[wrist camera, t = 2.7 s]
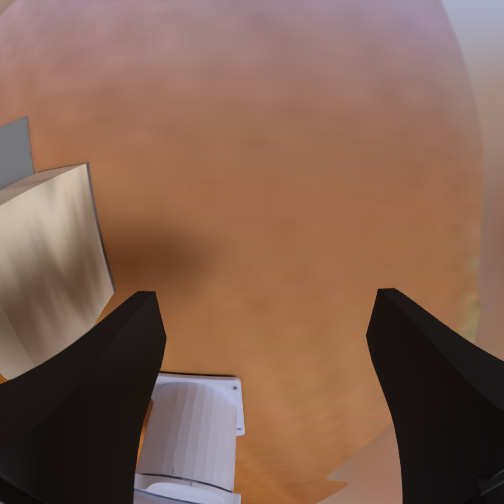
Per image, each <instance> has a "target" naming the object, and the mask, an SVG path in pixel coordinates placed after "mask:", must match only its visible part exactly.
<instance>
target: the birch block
mask: <svg viewBox="0 0 504 504" xmlns="http://www.w3.org/2000/svg"><path fill="white" fill-rule="evenodd" d="M115 291H116V290H115V287H114V283H113V280H112V276H111V272H110V269H109V265H108V261H107V257H106V253H105V249H104V245H103V240H102V236H101V231H100V227H99V222H98V217H97V212H96V207H95V201H94V196H93V190H92V184H91V177H90V171H89V163H82V164H76V165H71V166H65V167H60V168H55V169H50V170H46V171H41V172H38V173H36V174H33V175H31V176H29V177H27V178H25V179H22V180H20V181H18V182H16V183H14V184H12V185H10V186H8V187H6V188H4V189H2V190H0V373H1V374H2V376H3V377H4V378H6V379H8V380H11V379H13V378H15V377H17V376H20V375H21V374H23V373H25V372H27V371H29V370H31V369H33V368H34V367H36V366H38V365H40V364H42V363H43V362H45V361H47V360H48V359H50V358H52V357H53V356H55V355H56V354H58V353H59V352H61V351H62V350H64V349H65V348H67V347H68V346H69V345H71V344H72V343H74V342H75V341H76V340H77V339H79V338H80V337H81V336H83V335H84V334H85V333H87V332H88V331H89V330H90V329H92V327H93V325H94V324H95V322H96V321H97V319H98V317H99V316H100V314H101V312H102V311H103V309H104V308H105V306H106V305H107V303H108V301H109V300H110V298H111V297H112V295H113V294H114V292H115Z"/></svg>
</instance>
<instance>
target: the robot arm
mask: <svg viewBox="0 0 504 504" xmlns="http://www.w3.org/2000/svg"><path fill="white" fill-rule="evenodd" d="M366 338H367V343H368V347H369V352H370V356H371V360H372V363H373V366H374V368H375V371H376V374H377V377H378V379H379V382H380V385H381V387H382V390H383V393H384V396H385V398H386V401H387V404H388V407H389V410H390V413H391V416H392V420H393V423H394V427H395V433H396V438H397V444H398V450H399V457H400V464H401V476H402V490H403V491H402V492H403V504H504V361H502V360H500V359H498V358H497V357H495V356H493V355H491V354H489V353H487V352H486V351H484V350H482V349H480V348H479V347H477V346H475V345H474V344H472V343H471V342H469V341H468V340H466V339H465V338H463V337H462V336H460V335H459V334H457V333H456V332H454V331H453V330H452V329H450V328H449V327H447V326H446V325H445V324H443V323H442V322H441V321H439V320H438V319H437V318H435V317H434V316H433V315H431V314H430V313H429V312H427V311H426V310H425V309H423V308H422V307H421V306H419V305H418V304H417V303H415V302H414V301H413V300H411V299H410V298H409V297H407V296H406V295H404V294H403V293H401V292H400V291H398V290H397V289H395V288H385V289H378V291H377V296H376V300H375V304H374V308H373V311H372V315H371V319H370V323H369V326H368V330H367V333H366ZM166 339H167V338H166V334H165V330H164V326H163V322H162V318H161V314H160V310H159V306H158V301H157V297H156V293H155V291H138V292H136V293H135V294H133V295H132V296H131V297H130V298H128V299H127V300H126V301H125V302H123V303H122V304H121V305H120V306H119V307H117V308H116V309H115V310H114V311H113V312H111V313H110V314H109V315H108V316H106V317H105V318H104V319H103V320H102V321H100V322H99V323H98V324H97V325H96V326H94V327H93V328H92V329H90V330H89V331H88V332H87V333H85V334H84V335H83V336H81V337H80V338H79V339H77V340H76V341H75V342H74V343H72V344H71V345H69V346H68V347H67V348H65V349H64V350H62V351H61V352H59V353H58V354H56V355H55V356H53V357H52V358H50V359H48V360H47V361H45V362H43V363H42V364H40V365H38V366H36V367H34V368H33V369H31V370H29V371H27V372H25V373H23V374H21V375H20V376H17V377H15V378H13V379H11V380H9V381H6V382H4V383H2V384H0V504H240V501H241V495H240V494H236V493H233V490H234V470H235V451H236V436H241V435H244V434H245V427H244V415H243V403H242V391H241V381H240V379H239V378H237V377H215V376H193V375H178V374H165V373H159V371H160V368H161V365H162V360H163V355H164V350H165V345H166ZM150 399H152V401H153V407H152V410H151V414H150V418H149V421H148V425H147V429H146V433H145V436H144V440H143V444H142V448H141V452H140V456H139V460H138V464H137V468H136V463H137V455H138V448H139V442H140V436H141V430H142V426H143V422H144V418H145V415H146V411H147V408H148V405H149V402H150ZM135 471H136V472H135Z"/></svg>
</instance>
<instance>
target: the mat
mask: <svg viewBox="0 0 504 504" xmlns="http://www.w3.org/2000/svg"><path fill="white" fill-rule="evenodd" d="M33 174H34V169H33V163H32V156H31V148H30V140H29V130H28V117H24V118H21V119H19V120H16V121H14V122H12V123H9V124H7V125H5V126H2V127H0V190H2V189H4V188H6V187H8V186H10V185H12V184H14V183H16V182H18V181H20V180H22V179H25V178H27V177H29V176H31V175H33Z"/></svg>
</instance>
